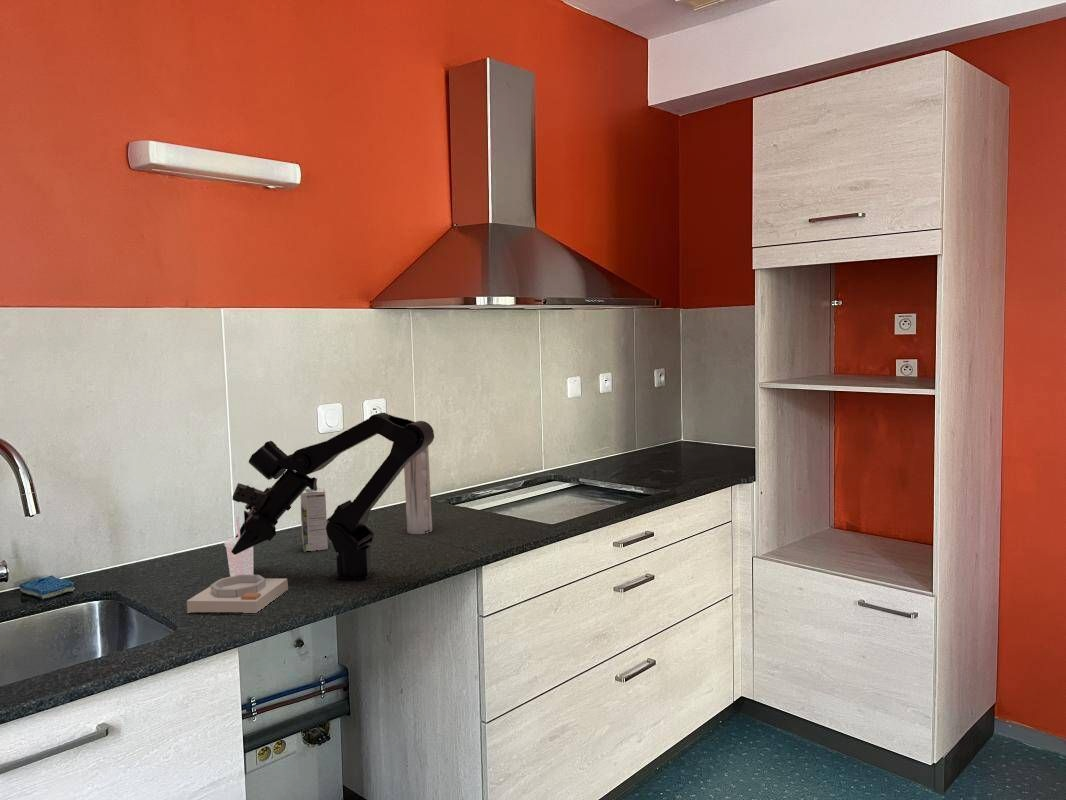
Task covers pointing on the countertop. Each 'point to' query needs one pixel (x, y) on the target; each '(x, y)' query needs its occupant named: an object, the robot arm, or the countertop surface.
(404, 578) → the countertop surface
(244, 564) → the beverage cup
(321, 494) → the syrup box
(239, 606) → the base
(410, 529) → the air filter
